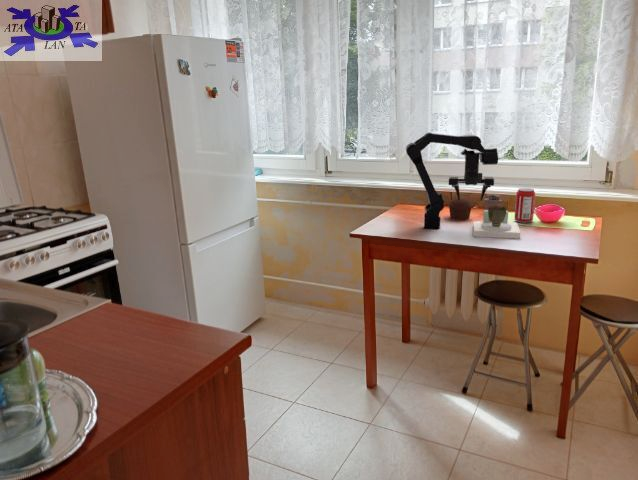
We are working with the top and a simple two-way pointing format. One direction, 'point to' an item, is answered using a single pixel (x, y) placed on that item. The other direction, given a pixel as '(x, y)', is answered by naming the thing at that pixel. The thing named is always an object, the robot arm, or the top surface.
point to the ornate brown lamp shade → (496, 215)
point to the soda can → (524, 205)
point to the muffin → (460, 208)
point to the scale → (495, 228)
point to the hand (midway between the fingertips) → (470, 200)
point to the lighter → (492, 201)
